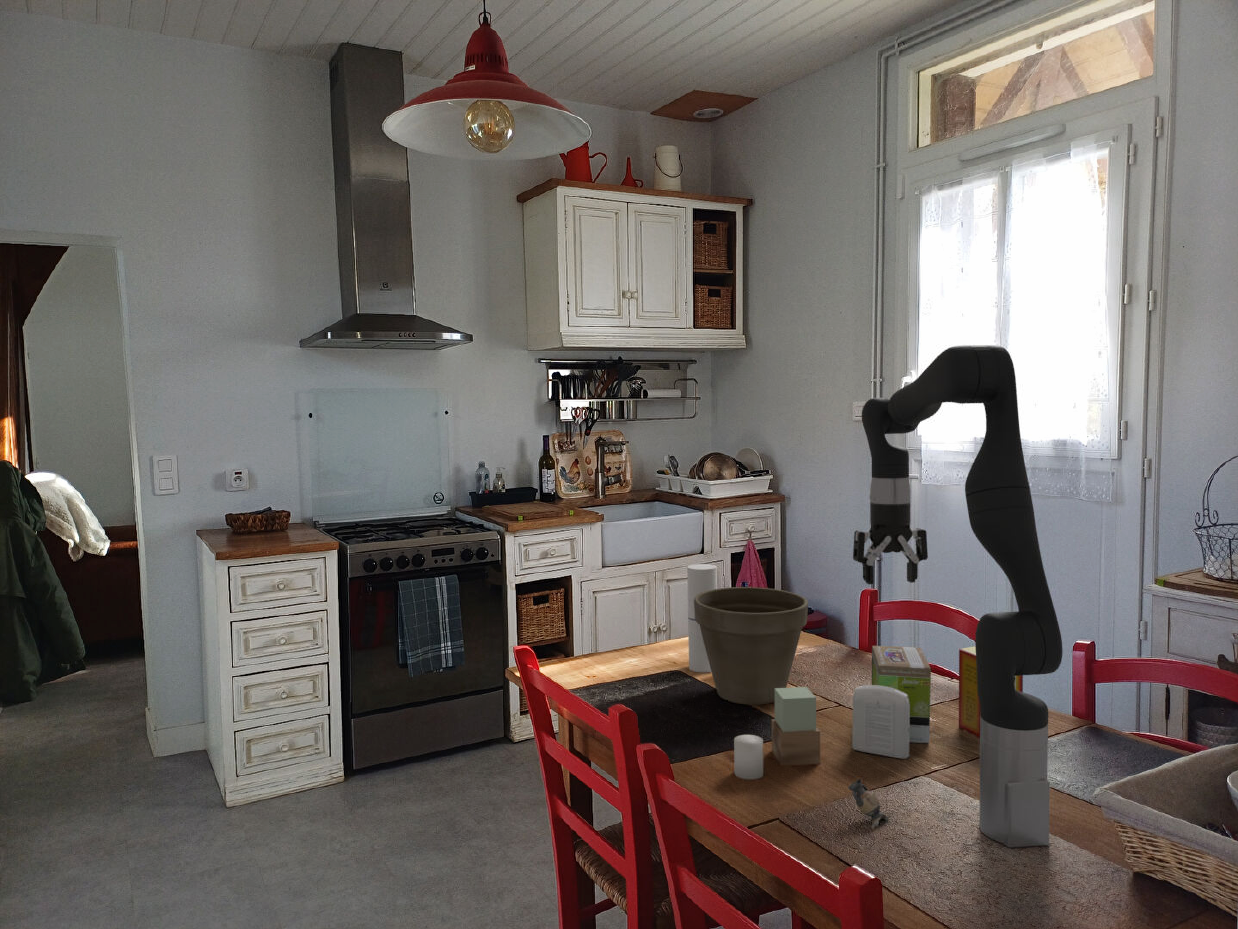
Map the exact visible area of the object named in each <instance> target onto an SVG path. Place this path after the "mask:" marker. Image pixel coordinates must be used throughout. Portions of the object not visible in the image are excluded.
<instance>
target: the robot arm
mask: <svg viewBox="0 0 1238 929" xmlns="http://www.w3.org/2000/svg"><path fill="white" fill-rule="evenodd" d="M1016 378H1017V377H1016V372H1015V367H1014V363H1013V359H1012V357H1011V355H1010V352H1009V351H1008V350H1007V349H1006V348H1005V347H1003V346H1002V345H1001V346H1000V345H995V344H993V345H991V344H989V345H988V344H984V345H983V344H981V345H980V344H979V345H975V344H974V345H967V344H966V345H965V344H964V345H954V346H950V347H948V348H946V349H944V350H943V351H942V352H940V353H939V354H938V355H937V356H936V357H935V358H934V360H933V361H931V363H930V364H929V365H928V366H927V367H926V368H925V369H924V370H923V371H922V372H921V374H920V375H919V376H918V377H917V378H916V379H915V380H913V381H912V382H910V383H909V384H907V385H904V386H902V388H900V389H898V390H897V391H895V392H894V393H893V394H892V396H890V397H873V398H870V399H868V400H867V401H866V402H865V404H864V405H863V406H862V409H861V421H862V425H863V426H862V427H863V430H864V432H865V436H866V440H867V443H868V447H869V448H868V449H869V453H870V457H871V462H870V463H871V464H870V465H871V467H870V468H871V469H870V470H871V472H870V473H871V478H870V479H871V480H870V481H871V482H870V488H869V490H870V491H869V492H870V493H869V505H870V506H869V509H870V510H869V513H870V514H869V519H870V520H869V522H870V528H869V530H868V531H860V530H855V531H854V533H853V535H854V536H853V547H852V548H853V552H852V558H853V561H855V562H858V563H860V564H862V579H863V581H864V582H865V584H867V585H874V565H873V564H874V562H875V561H876V560H877V558H879V557H880V556H881V555H882V553H884V554H890V553H893V552H894V553H902V555H904V557H905V558H906V559H907V561H908V562H906V580H907V582H909V583H911V584H912V583H915V582H916V580H917V579H918V576H919V575H918V574H919V573H918V570H919V569H918V564H919V563H920V562H921V561H926V560H927V559H928V558H929V554H928V540H927V539H928V538H927V534H928V533H927V531H926V529H923V528H920V527H916V528H915V529H911V484H910V454H909V451H908V448H905V447H904V446H898V445H893V444H890V443H889V442H888V440H887V438H886V435H893V434H894V435H895V434H897V435H900V434H901V435H902V434H908V433H912V432H914V431H915V430H917V428H918V427H919V425H920V423H921V422H923V421H926V420H927V419H930V418H931V417H933V416H934V415H935V414H936V413H937V412H938V411H939V410H940V408H941V407H942V405H943V403H954V404H983V407H984V411H985V433H984V438H983V441H982V444H981V446H980V448H979V450H978V452H977V454H976V456H975V458H974V461H973V463H972V464H971V467H970V468H969V471H968V474H967V477H966V478H965V484H964V492H965V493H964V494H965V501H966V502H965V503H966V506H967V513H968V519H969V524H970V528H971V531H972V532H973V534H974V536H975V537H976V538H977V540H978V542H979V543H980V544H981V546H982V547H983V549H985V551H986V552H987V553H988V554H989V556H990V557H991V558H992V559H993V560H994V561H995V562H996V564H997V565H998V566H999V568H1001V570H1002V571H1003V573H1004V575H1005V576H1006V577H1007V579H1008V582H1009V583H1010V585H1011V589H1012V590H1013V594H1014V597H1015V600H1016V605H1017V611H999V612H998V611H997V612H989V613H985V614H984V615H982V616H981V617H980V618H979V620H978V622H977V626H976V628H975V629H976V630H975V639H974V640H975V642H974V643H975V645H974V646H975V649H976V665H977V691H978V697H979V702H980V738H979V829H980V831H981V832H982V834H984V835H985V836H987V838H989V839H991V840H993V841H995V842H999V843H1001V844H1004V845H1005V846H1006V847H1007V848H1023V847H1025V848H1026V847H1039V846H1049V845H1050V798H1051V797H1050V788H1051V786H1050V784H1051V783H1050V781H1049V780H1048V754H1049V753H1048V751H1049V749H1048V748H1049V747H1048V745H1049V707H1048V705H1047V703H1045V702H1044V700H1042V699H1041V698H1039V697H1037V696H1034V695H1032V694H1029V693H1027V692H1020V691H1017V690H1015V684H1014V676H1021V675H1023V676H1033V675H1034V676H1035V675H1036V676H1037V675H1047V674H1053V673H1055V672H1056V671H1057V670H1059V668H1060V667H1061V665H1062V664H1061V663H1062V661H1063V660H1062V659H1063V654H1064V653H1063V639H1062V634H1061V629H1060V625H1059V620H1058V617H1057V612H1056V609H1055V606H1054V602H1053V599H1052V595H1051V591H1050V588H1049V585H1048V580H1047V576H1046V573H1045V570H1044V564H1043V559H1042V553H1041V549H1040V542H1039V536H1038V533H1037V532H1038V531H1037V526H1036V519H1035V510H1034V504H1033V498H1032V492H1031V487H1030V483H1029V478H1028V477H1029V476H1028V473H1027V469H1026V462H1025V457H1024V451H1023V444H1022V437H1021V430H1020V429H1021V427H1020V418H1019V407H1018V406H1019V404H1018V403H1019V402H1018V393H1017V391H1018V390H1017V380H1016ZM868 539H869V540H870V541H871V544H870V546H868V549H867V550H866V552H865V543H867V541H868ZM911 539H913V540H914V541H915V551H916V552H915V551H914V550H913V548H912V547H911V545H910V544H909V541H910V540H911Z"/></svg>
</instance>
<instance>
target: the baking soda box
mask: <svg viewBox="0 0 1238 929" xmlns="http://www.w3.org/2000/svg"><path fill="white" fill-rule="evenodd" d="M1023 683H1024V675H1021V676H1014V684H1015V690H1017V691H1020V692H1023V691H1024V689H1023V687H1024V684H1023ZM1023 693H1024V692H1023ZM958 728H960V729H962V730H963V731H965V732H968V733H970V734H972V735H973V736H975V737H977V738H979V739H980V702H979V697H978V691H977V665H976V649H975V645H974V646H969V647H963V648H959V650H958Z"/></svg>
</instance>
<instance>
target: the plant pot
mask: <svg viewBox="0 0 1238 929" xmlns="http://www.w3.org/2000/svg"><path fill="white" fill-rule="evenodd" d="M808 607H809V601H808V599H807V598H806V597H804V596H802V595H800V594H798V593H794V592H792V591H791V592H790V591H788V590H787V591H786V590H782V589H777V588H769V587H767V588H766V587H756V586H755V587H753V586H749V587H748V586H737V587H736V586H735V587H734V586H733V587H732V586H731V587H722V588H720V587H719V588H717V589H713V590H708V591H705V592H702V593H700V594H698V595H696V597H695V598H694V609H695V620H696V622H697V623H698V624H699V625H700V629H701V633H702V637H703V641H704V645H705V649H706V653H707V656H708V660H709V664H710V668H711V672H710V673H711V675H712V680H713V683H714V686H715V689H716V692H717V694H718V696H719V697H720V698H722V699H723V700H725V701H727V700H728V702H731V703H734V704H741V705H748V706H749V705H751V706H753V705H754V706H755V705H766V704H767V705H769V704H772V703H775V688H787V687H788V682H789V678H790V675H791V671H792V668H793V664H794V659H795V656H796V652H797V649H798V645H799V641H800V637H801V632H802V629H803V628H804V627H805V626H806V625H807V622H808V613H809V612H808V610H809V609H808Z"/></svg>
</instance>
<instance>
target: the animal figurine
mask: <svg viewBox="0 0 1238 929" xmlns="http://www.w3.org/2000/svg"><path fill="white" fill-rule="evenodd" d="M863 780H864V779H863ZM862 783H863V781H862V780H861V778H860V779H856V780H855V781H854V782H852V783H850V784H849V785H848V786H847V788H848V789H849V791H851V792H852V797H853V798H854V799H855V805H856V807H857V809H858V810H859V812H861V813H862V814H863V815H865V816H868V817H870V818H871V822H872V823H871V826H870V824H868V825H867V826H866V828H869V827H871V828H872V830H874V829H875V827H876V828H879V824H880V820H882V819H884V821H886V822H887V821H888V820H889V818H890V816H887V815H888V814H890V811H889V812H883V811H880V809H881V806H880V805H881V804H880V800H879V798H878V796H877V795H876V794H875V792H874V791H870V790H869V789H868V787H867V786H866V785H865V784H862ZM885 813H886V814H887V815H886V814H885ZM863 827H865V825H863Z"/></svg>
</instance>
